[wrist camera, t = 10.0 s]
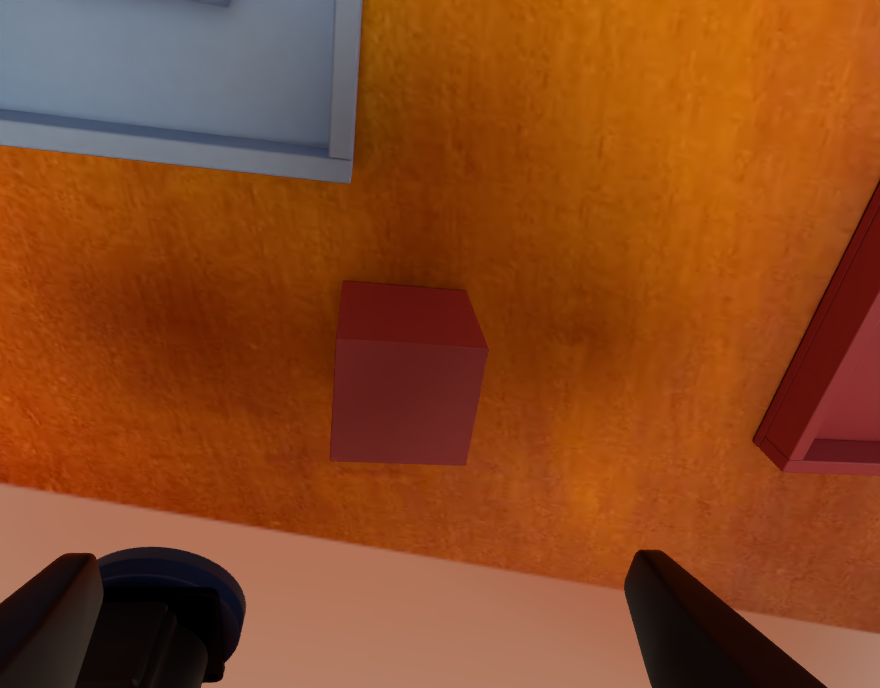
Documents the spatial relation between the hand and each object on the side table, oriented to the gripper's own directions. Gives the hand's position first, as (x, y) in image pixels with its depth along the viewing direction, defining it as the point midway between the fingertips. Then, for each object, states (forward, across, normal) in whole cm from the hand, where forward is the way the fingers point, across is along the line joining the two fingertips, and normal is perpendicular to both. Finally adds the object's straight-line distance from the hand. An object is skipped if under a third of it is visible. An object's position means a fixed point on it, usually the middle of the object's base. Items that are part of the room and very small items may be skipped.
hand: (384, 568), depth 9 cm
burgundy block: (+10, -1, +1) cm, 10 cm away
